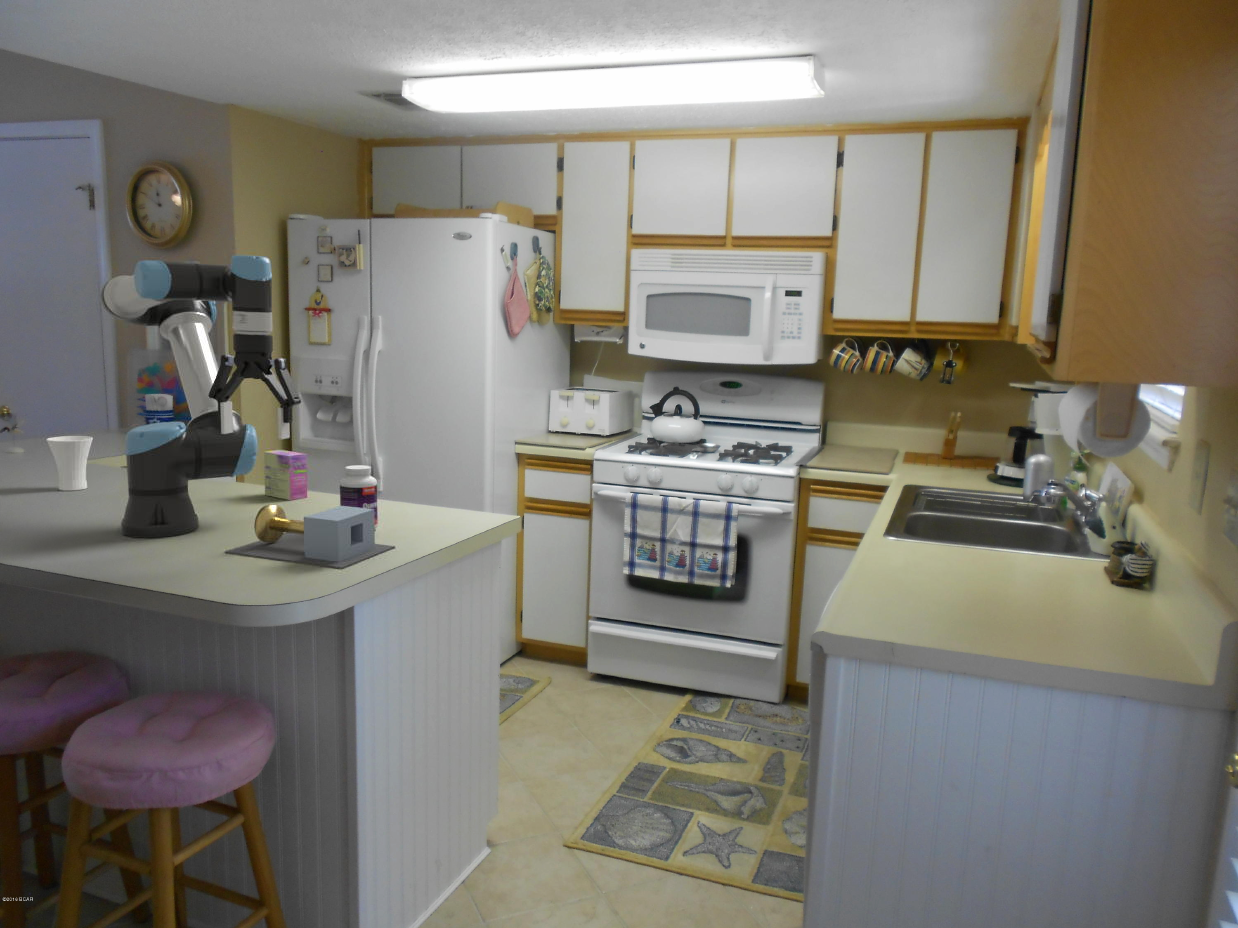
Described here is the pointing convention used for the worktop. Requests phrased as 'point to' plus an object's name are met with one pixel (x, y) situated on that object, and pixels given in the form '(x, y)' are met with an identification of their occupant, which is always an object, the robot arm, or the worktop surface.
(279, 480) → the box
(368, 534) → the block
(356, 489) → the pill bottle
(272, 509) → the pin
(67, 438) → the cup
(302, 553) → the mat
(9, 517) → the worktop surface
